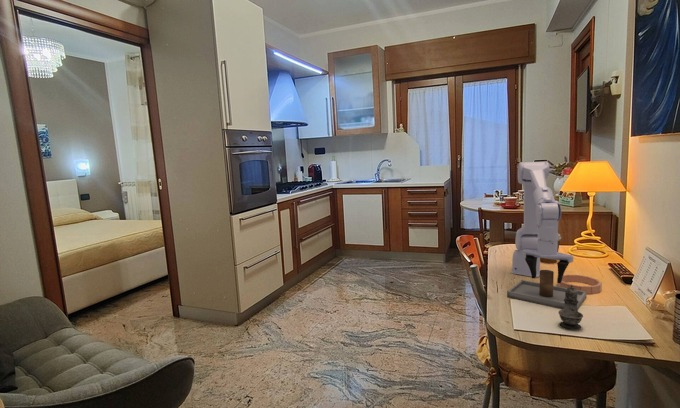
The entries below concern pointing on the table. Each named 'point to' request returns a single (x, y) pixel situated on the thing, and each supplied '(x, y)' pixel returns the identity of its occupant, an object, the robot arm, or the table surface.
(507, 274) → the table surface
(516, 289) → the tray
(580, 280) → the pinkish brown ring
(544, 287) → the dowel
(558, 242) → the disposable coffee cup
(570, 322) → the dark grey figurine
